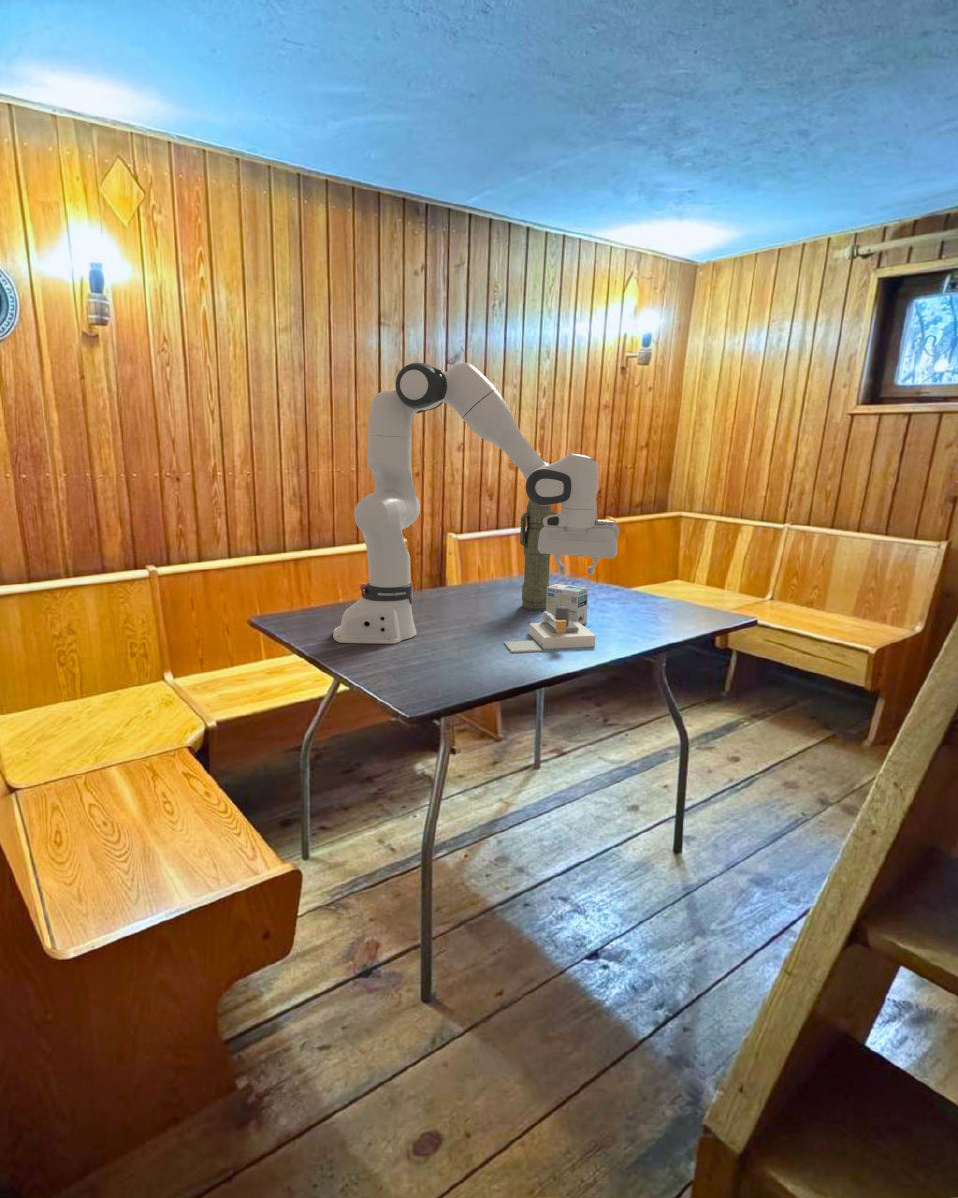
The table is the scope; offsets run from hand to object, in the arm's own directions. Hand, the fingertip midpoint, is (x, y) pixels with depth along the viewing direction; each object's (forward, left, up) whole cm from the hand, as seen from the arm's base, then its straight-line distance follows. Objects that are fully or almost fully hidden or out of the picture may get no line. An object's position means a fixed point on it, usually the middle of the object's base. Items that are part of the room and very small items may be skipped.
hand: (576, 572), depth 176 cm
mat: (-14, -1, -19) cm, 24 cm away
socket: (-2, +4, -19) cm, 20 cm away
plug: (-2, +4, -19) cm, 20 cm away
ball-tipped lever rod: (-5, +3, -16) cm, 17 cm away
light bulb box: (+5, +21, -20) cm, 29 cm away
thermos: (+1, +40, -20) cm, 45 cm away
